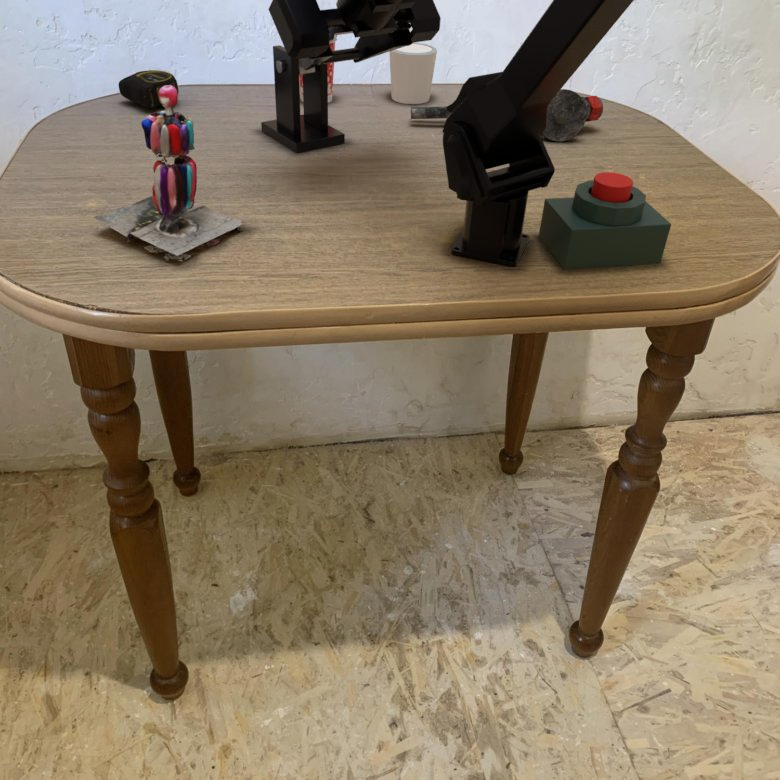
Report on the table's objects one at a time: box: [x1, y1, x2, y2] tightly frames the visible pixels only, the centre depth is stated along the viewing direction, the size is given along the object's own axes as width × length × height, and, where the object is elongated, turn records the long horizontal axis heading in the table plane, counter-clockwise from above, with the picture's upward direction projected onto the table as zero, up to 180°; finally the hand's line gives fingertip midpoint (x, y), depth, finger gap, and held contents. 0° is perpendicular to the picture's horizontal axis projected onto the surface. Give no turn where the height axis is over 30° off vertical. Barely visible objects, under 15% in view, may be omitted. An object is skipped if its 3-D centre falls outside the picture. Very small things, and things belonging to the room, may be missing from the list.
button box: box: [538, 179, 672, 271], centre depth 75 cm, size 10×7×6 cm
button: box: [591, 171, 634, 203], centre depth 73 cm, size 4×4×2 cm
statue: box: [93, 85, 246, 262], centre depth 72 cm, size 11×9×15 cm
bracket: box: [260, 45, 346, 154], centre depth 96 cm, size 9×7×11 cm
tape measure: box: [118, 69, 179, 109], centre depth 106 cm, size 7×7×4 cm
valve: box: [410, 88, 604, 142], centre depth 106 cm, size 6×26×15 cm
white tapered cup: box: [388, 42, 438, 105], centre depth 112 cm, size 7×7×7 cm
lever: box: [299, 47, 360, 75], centre depth 90 cm, size 11×5×2 cm, turn 36°
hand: (329, 62), depth 88 cm, fingers open, 6 cm apart
